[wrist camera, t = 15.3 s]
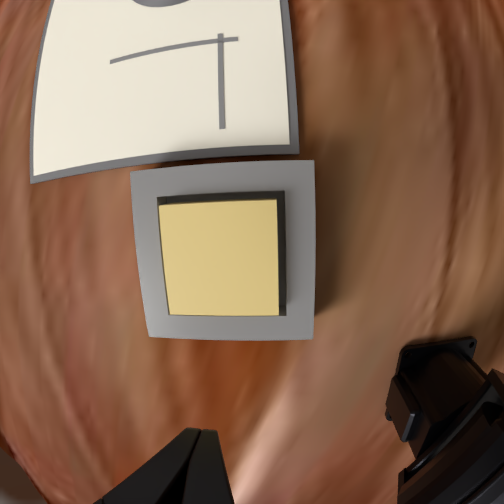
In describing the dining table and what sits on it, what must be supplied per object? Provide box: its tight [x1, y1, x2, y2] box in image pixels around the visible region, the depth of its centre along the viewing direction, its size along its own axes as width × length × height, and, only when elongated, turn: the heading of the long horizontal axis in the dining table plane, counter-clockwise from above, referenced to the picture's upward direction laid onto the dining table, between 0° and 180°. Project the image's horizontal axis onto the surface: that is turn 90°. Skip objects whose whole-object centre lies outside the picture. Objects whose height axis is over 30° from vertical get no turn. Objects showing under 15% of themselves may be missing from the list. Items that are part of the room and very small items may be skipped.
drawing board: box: [30, 0, 299, 184], centre depth 14 cm, size 18×18×1 cm
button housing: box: [130, 160, 316, 340], centre depth 16 cm, size 9×9×2 cm
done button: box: [159, 198, 279, 316], centre depth 15 cm, size 5×5×2 cm
